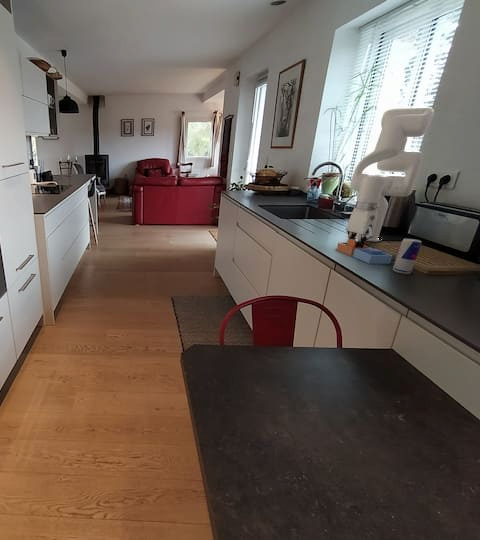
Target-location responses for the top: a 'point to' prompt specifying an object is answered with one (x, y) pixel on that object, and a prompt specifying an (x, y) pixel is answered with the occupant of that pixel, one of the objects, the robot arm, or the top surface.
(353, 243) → the terracotta block
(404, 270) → the energy drink
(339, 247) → the terracotta bin
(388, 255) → the blue bin
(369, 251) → the blue block
